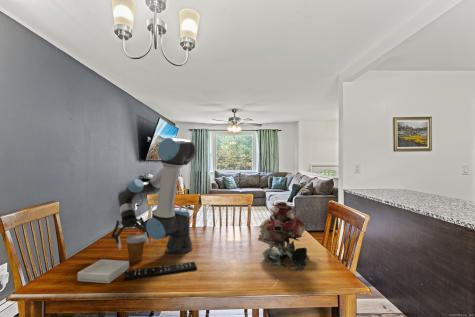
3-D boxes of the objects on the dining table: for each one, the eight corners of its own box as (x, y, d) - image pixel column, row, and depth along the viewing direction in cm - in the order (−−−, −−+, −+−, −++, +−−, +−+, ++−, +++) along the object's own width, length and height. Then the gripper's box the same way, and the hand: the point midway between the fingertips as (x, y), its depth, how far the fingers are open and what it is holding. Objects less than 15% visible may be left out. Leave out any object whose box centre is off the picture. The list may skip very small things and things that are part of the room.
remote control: (124, 274, 115) (124, 270, 115) (194, 264, 126) (194, 260, 126) (123, 282, 107) (123, 277, 107) (196, 270, 118) (197, 266, 118)
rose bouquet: (306, 250, 143) (306, 198, 144) (307, 272, 115) (306, 207, 115) (262, 247, 150) (262, 197, 150) (252, 266, 122) (252, 205, 122)
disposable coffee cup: (149, 257, 134) (149, 235, 134) (136, 264, 125) (136, 240, 125) (134, 255, 137) (134, 233, 137) (121, 261, 128) (121, 238, 128)
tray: (129, 268, 120) (129, 261, 120) (108, 283, 105) (108, 274, 106) (101, 266, 122) (101, 259, 122) (77, 280, 108) (77, 272, 108)
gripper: (148, 214, 153) (156, 245, 141) (102, 219, 139) (107, 254, 126) (151, 206, 149) (159, 238, 137) (104, 211, 135) (108, 247, 122)
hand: (134, 246), depth 132 cm, fingers open, 13 cm apart
